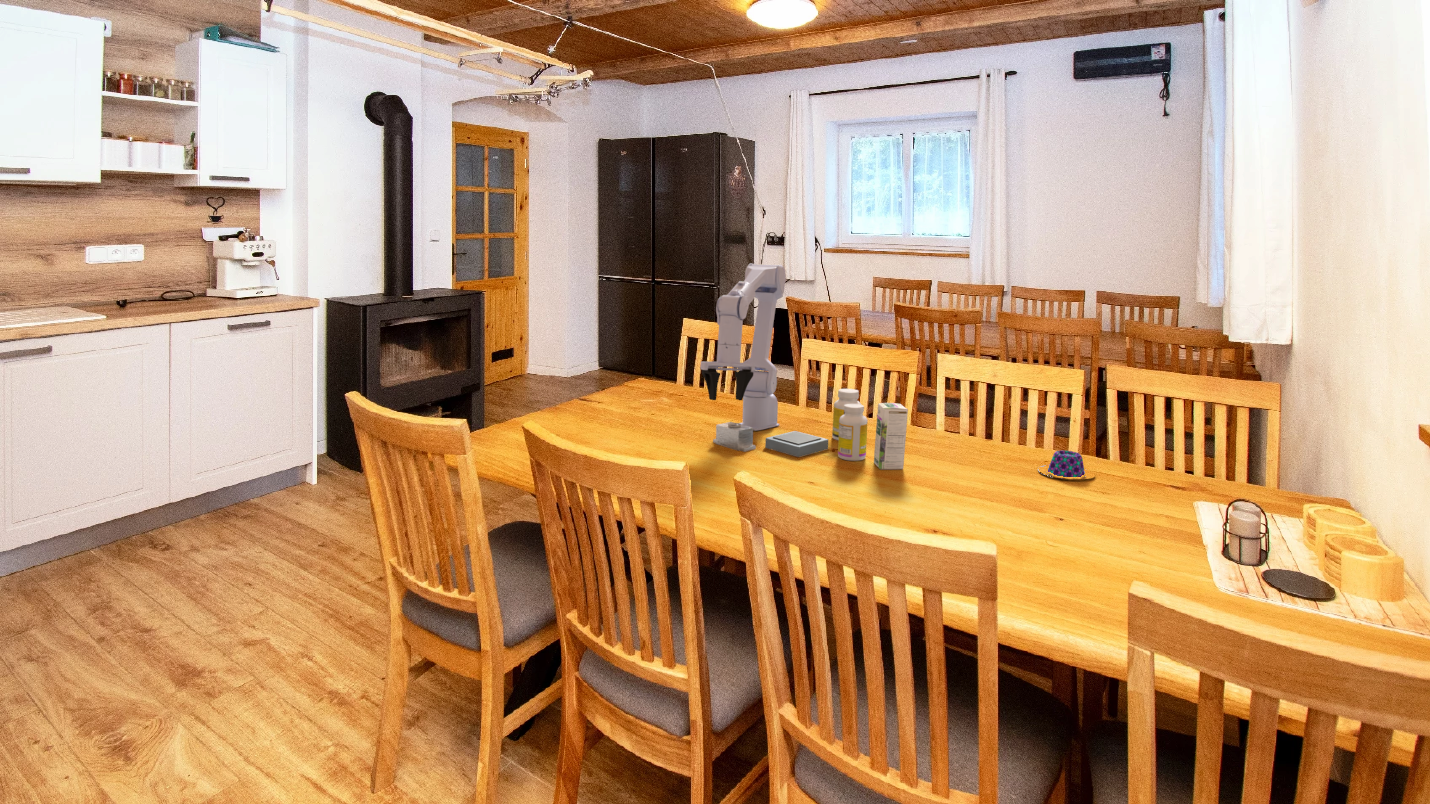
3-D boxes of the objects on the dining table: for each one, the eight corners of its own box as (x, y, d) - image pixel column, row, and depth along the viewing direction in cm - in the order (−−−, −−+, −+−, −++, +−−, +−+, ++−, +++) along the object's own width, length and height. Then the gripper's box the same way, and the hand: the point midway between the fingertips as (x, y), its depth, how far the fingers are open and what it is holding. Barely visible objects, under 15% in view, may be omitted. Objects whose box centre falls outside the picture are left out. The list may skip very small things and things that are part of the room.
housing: (725, 439, 216) (726, 418, 215) (757, 448, 208) (757, 427, 207) (711, 442, 213) (712, 421, 212) (742, 452, 205) (743, 430, 204)
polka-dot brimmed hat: (1031, 466, 197) (1033, 445, 196) (1083, 468, 197) (1086, 447, 195) (1046, 482, 186) (1048, 459, 185) (1102, 484, 185) (1105, 461, 184)
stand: (794, 440, 216) (795, 429, 216) (828, 449, 209) (828, 438, 208) (765, 447, 209) (765, 436, 208) (798, 457, 201) (799, 445, 201)
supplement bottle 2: (862, 453, 205) (865, 402, 202) (868, 461, 198) (871, 408, 196) (835, 453, 205) (837, 402, 202) (840, 461, 198) (842, 408, 195)
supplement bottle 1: (841, 443, 214) (844, 394, 211) (826, 436, 220) (829, 388, 218) (865, 440, 217) (867, 392, 214) (849, 434, 223) (852, 386, 221)
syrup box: (872, 462, 198) (876, 402, 194) (897, 462, 198) (901, 402, 195) (879, 469, 192) (883, 408, 189) (904, 469, 193) (908, 408, 189)
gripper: (712, 344, 198) (708, 401, 200) (763, 346, 206) (759, 401, 207) (697, 342, 204) (694, 398, 206) (747, 344, 212) (744, 398, 213)
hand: (725, 399), depth 207 cm, fingers open, 7 cm apart
